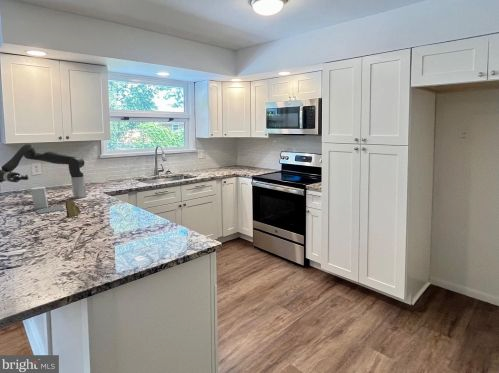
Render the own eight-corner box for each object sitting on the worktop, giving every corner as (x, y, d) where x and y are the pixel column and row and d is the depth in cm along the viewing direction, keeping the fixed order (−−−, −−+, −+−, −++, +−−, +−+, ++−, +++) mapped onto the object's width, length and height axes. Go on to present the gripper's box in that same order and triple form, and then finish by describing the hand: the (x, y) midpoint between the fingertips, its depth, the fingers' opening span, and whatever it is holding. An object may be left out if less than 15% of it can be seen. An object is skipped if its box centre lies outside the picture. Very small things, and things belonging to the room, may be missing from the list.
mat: (59, 206, 245) (59, 205, 245) (64, 209, 234) (64, 209, 234) (34, 210, 235) (34, 209, 235) (38, 214, 224) (38, 213, 224)
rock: (78, 208, 228) (62, 209, 221) (81, 199, 225) (65, 200, 217) (82, 220, 223) (66, 221, 216) (86, 211, 219) (70, 212, 212)
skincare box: (48, 206, 247) (45, 186, 244) (47, 207, 241) (44, 187, 239) (34, 207, 243) (32, 187, 240) (33, 209, 238) (30, 188, 235)
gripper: (21, 180, 256) (36, 182, 249) (3, 183, 244) (18, 184, 237) (20, 171, 254) (35, 172, 248) (1, 173, 242) (17, 174, 236)
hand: (27, 178), depth 242 cm, fingers closed
